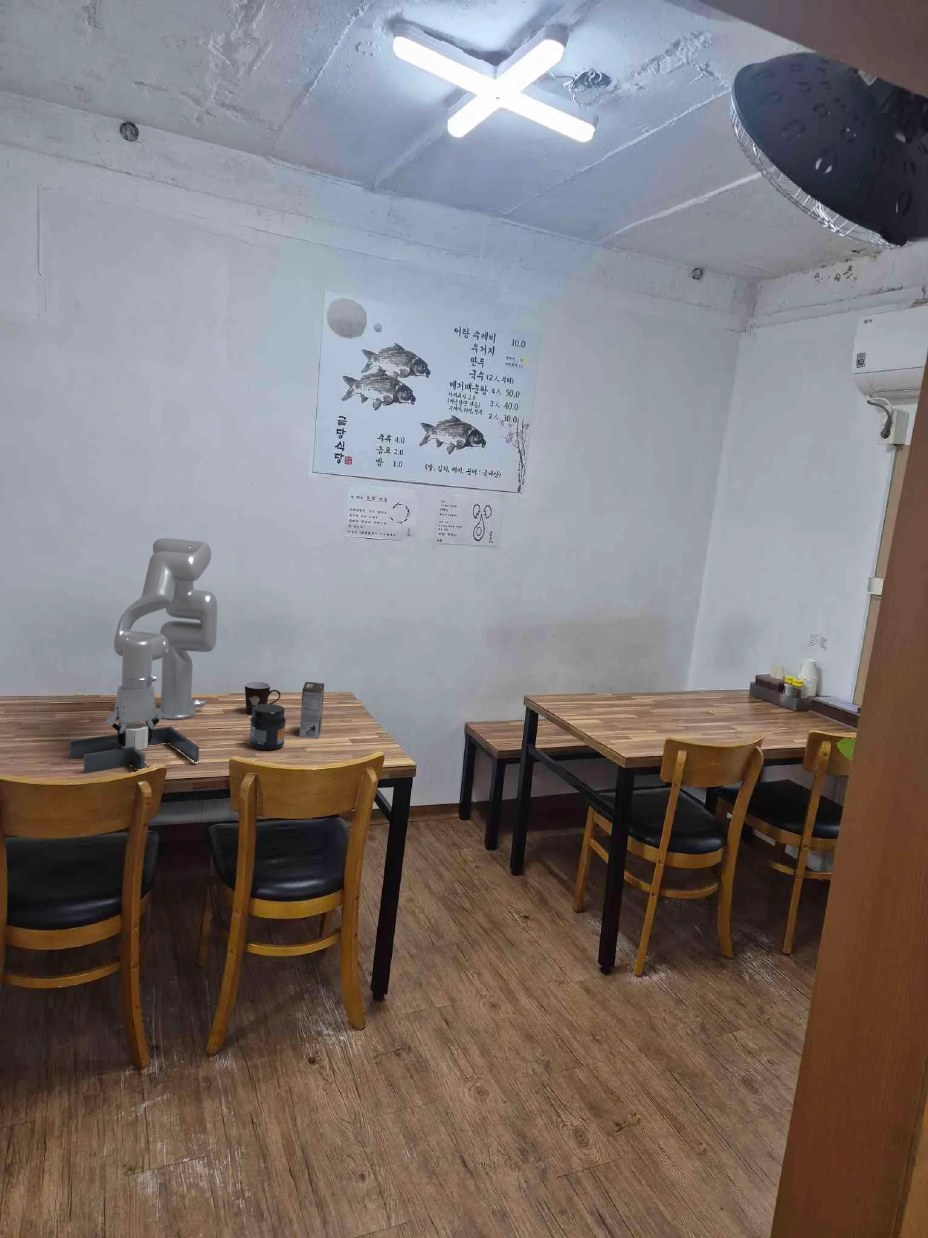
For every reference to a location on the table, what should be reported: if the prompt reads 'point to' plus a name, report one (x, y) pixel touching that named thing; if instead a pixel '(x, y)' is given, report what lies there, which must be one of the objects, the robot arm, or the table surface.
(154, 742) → the rail course
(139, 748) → the cream ring
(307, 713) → the coffee box
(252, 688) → the coffee mug
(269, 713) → the supplement container
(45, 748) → the table surface
